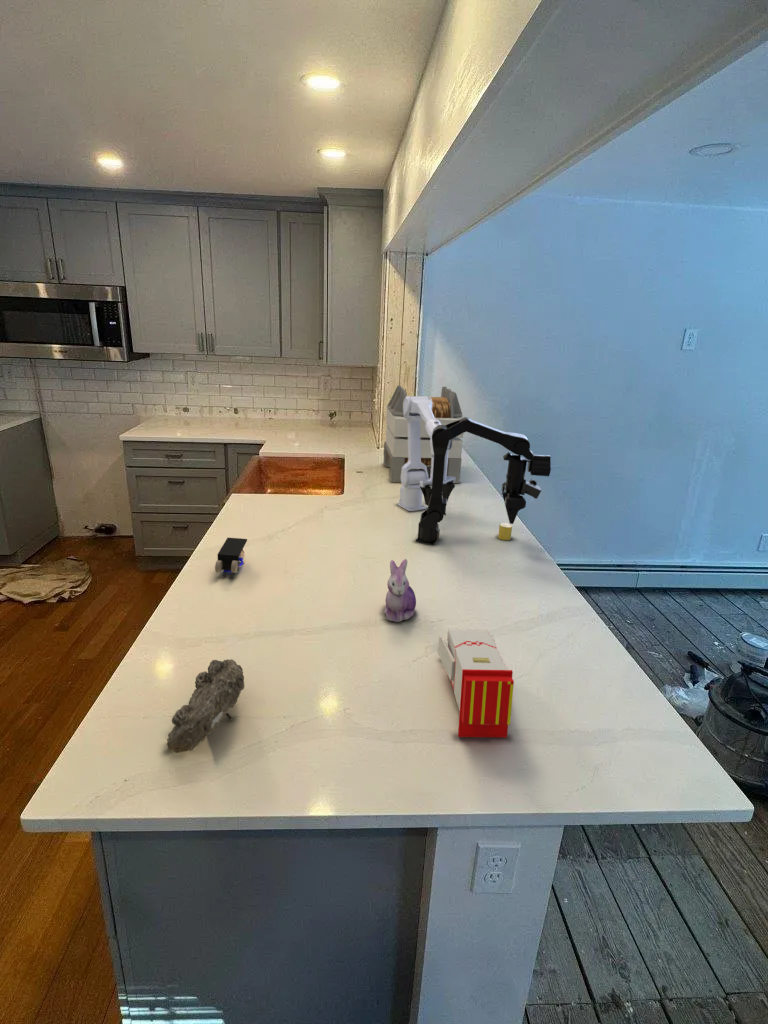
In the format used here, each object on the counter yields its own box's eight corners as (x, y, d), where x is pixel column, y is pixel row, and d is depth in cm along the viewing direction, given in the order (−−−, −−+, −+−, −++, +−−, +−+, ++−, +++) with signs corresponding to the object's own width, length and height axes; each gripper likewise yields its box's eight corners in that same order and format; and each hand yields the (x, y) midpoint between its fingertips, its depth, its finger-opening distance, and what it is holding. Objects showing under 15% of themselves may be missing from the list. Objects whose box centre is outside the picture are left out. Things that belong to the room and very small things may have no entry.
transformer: (382, 463, 289) (386, 382, 275) (445, 464, 293) (451, 384, 279) (390, 482, 257) (394, 392, 243) (460, 483, 261) (468, 394, 247)
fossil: (192, 660, 117) (244, 628, 112) (224, 691, 120) (276, 661, 115) (142, 746, 98) (202, 712, 93) (182, 779, 101) (242, 748, 96)
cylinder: (513, 538, 201) (514, 525, 199) (505, 541, 198) (507, 528, 196) (503, 534, 204) (504, 522, 202) (495, 537, 201) (497, 524, 199)
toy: (488, 613, 130) (523, 677, 101) (484, 667, 133) (517, 744, 104) (435, 612, 130) (455, 676, 101) (432, 666, 133) (451, 743, 103)
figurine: (392, 627, 141) (395, 572, 136) (374, 608, 149) (376, 556, 144) (425, 619, 145) (429, 566, 140) (405, 601, 154) (408, 550, 149)
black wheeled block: (238, 584, 162) (249, 557, 175) (236, 562, 158) (247, 536, 172) (215, 584, 161) (227, 556, 175) (212, 561, 158) (225, 535, 171)
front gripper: (545, 484, 174) (538, 531, 180) (537, 468, 192) (531, 511, 197) (508, 481, 175) (502, 528, 181) (504, 465, 193) (498, 508, 198)
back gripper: (429, 472, 193) (426, 509, 197) (462, 467, 200) (458, 504, 205) (417, 467, 198) (414, 503, 203) (450, 463, 206) (446, 498, 210)
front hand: (510, 518), depth 189 cm, fingers open, 9 cm apart
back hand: (436, 503), depth 204 cm, fingers open, 7 cm apart
